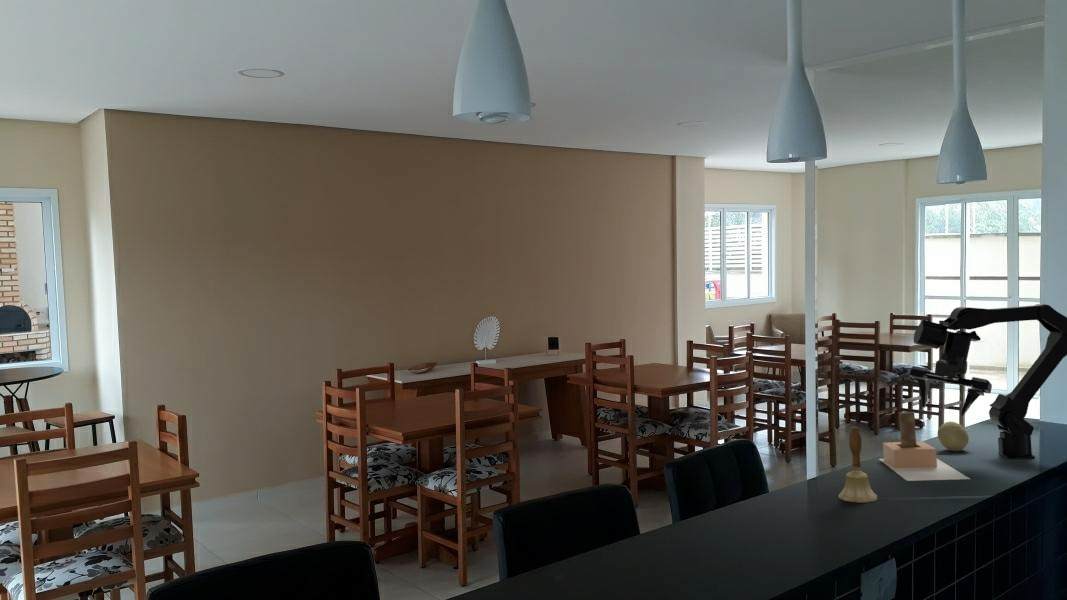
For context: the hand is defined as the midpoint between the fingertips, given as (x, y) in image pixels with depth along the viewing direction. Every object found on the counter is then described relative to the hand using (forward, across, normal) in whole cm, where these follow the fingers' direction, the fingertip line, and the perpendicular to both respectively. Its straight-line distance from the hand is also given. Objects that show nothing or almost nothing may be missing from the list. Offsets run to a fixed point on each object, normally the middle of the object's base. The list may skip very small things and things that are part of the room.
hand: (942, 411), depth 207 cm
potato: (+9, +2, +16) cm, 18 cm away
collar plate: (+16, 0, -8) cm, 18 cm away
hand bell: (+27, -5, -38) cm, 47 cm away
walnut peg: (+15, -4, -4) cm, 16 cm away
